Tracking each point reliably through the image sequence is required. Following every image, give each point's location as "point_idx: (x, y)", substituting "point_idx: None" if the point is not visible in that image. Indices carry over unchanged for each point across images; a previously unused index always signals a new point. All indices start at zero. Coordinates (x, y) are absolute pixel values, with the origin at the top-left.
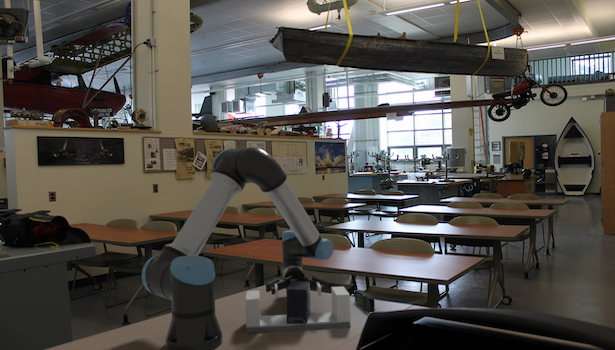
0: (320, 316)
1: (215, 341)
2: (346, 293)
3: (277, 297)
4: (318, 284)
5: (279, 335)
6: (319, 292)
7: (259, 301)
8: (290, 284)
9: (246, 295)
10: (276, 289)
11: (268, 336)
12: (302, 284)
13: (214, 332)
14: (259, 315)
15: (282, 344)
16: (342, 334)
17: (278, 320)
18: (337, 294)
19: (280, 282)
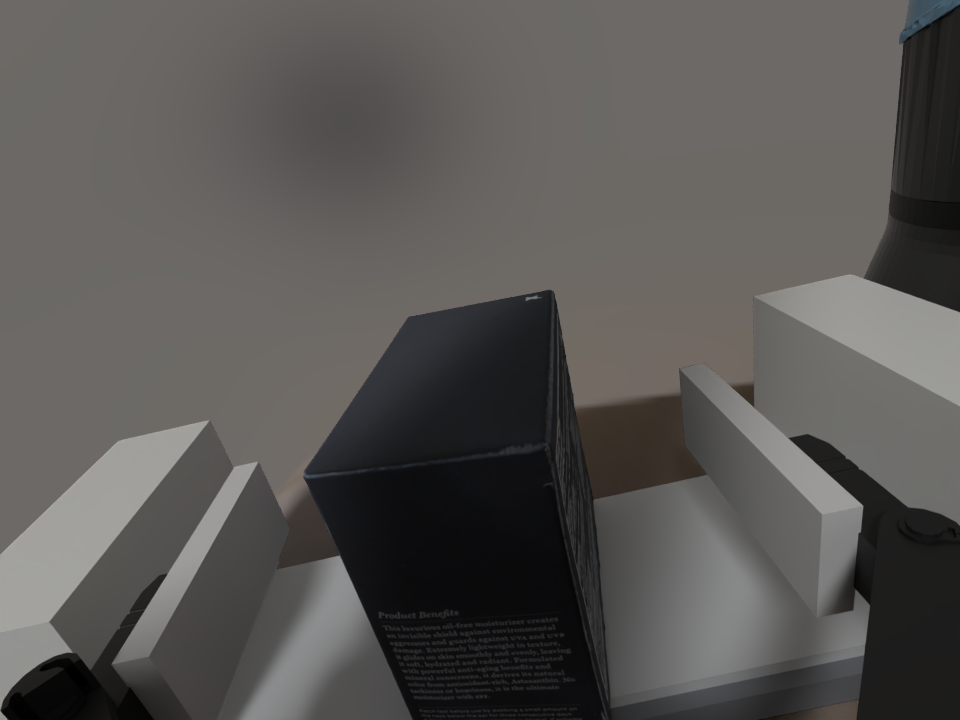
0: (345, 655)
1: None
2: (116, 455)
3: (688, 439)
4: (193, 556)
5: (617, 466)
6: (272, 504)
7: (766, 327)
8: (535, 346)
9: (946, 308)
10: (692, 367)
11: (671, 450)
12: (415, 369)
13: None
14: (755, 398)
15: (577, 407)
16: (309, 511)
17: (673, 547)
18: (192, 431)
19: (878, 686)
